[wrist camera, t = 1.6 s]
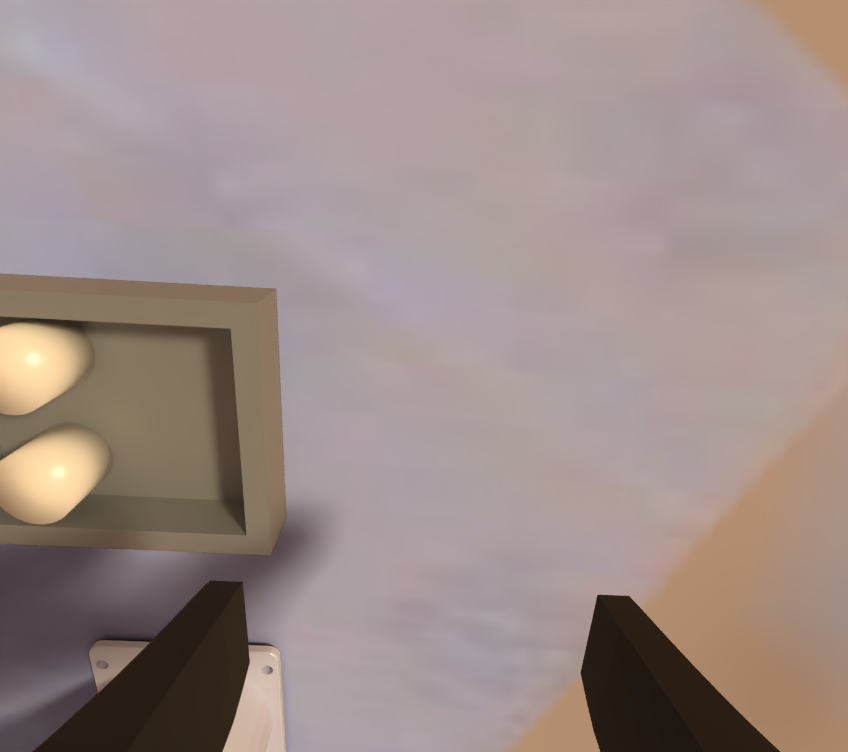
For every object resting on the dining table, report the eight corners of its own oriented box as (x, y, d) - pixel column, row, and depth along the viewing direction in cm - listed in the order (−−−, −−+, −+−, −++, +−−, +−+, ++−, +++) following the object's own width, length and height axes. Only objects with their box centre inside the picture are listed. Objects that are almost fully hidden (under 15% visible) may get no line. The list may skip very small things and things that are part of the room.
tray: (288, 511, 21) (267, 563, 18) (7, 498, 20) (-59, 549, 18) (279, 286, 18) (252, 306, 15) (-53, 268, 17) (-146, 284, 14)
